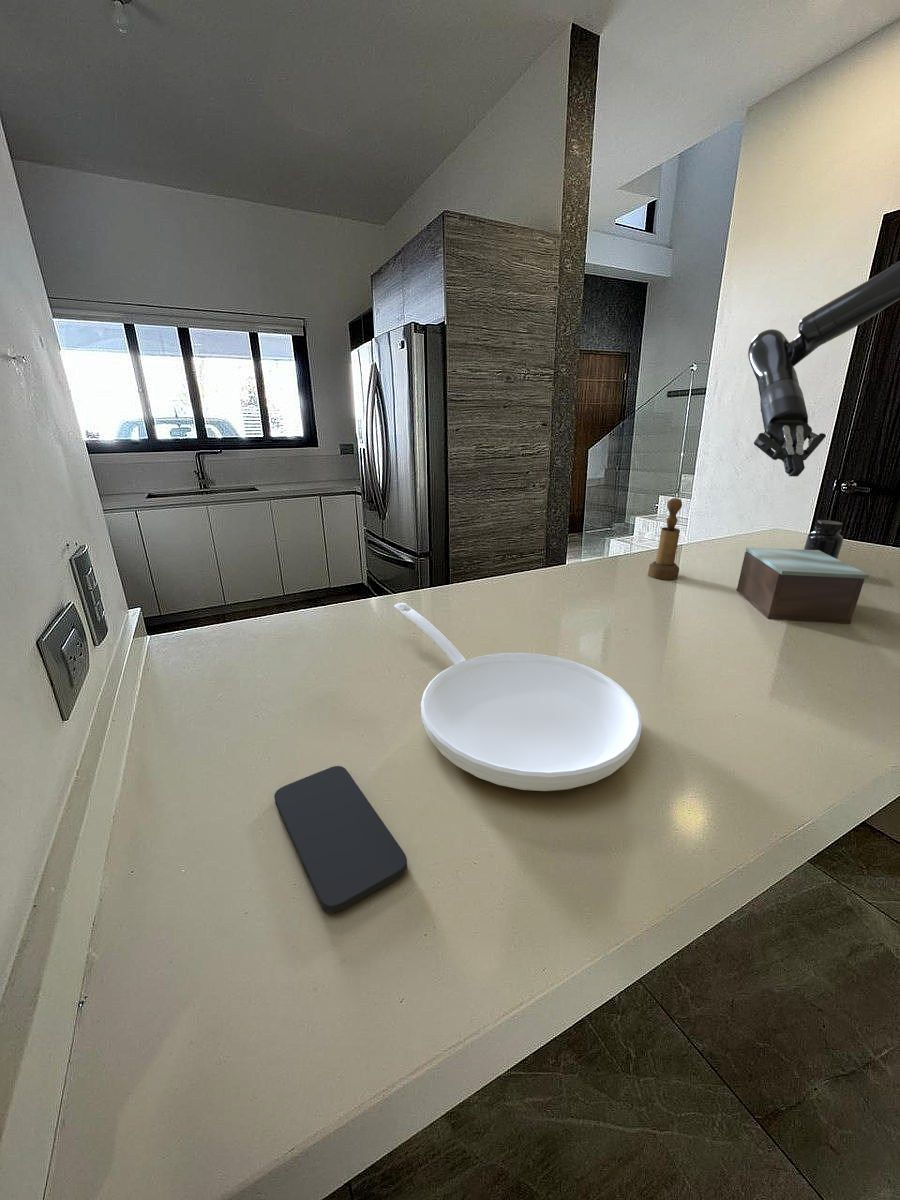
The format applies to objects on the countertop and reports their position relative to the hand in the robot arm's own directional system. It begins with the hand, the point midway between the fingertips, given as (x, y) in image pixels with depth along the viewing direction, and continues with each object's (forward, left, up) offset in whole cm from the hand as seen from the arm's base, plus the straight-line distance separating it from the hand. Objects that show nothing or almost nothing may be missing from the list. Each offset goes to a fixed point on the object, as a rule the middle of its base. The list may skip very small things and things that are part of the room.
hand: (796, 473), depth 95 cm
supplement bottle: (-17, -16, -25) cm, 34 cm away
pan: (+56, +52, -25) cm, 81 cm away
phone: (+66, +78, -24) cm, 105 cm away
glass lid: (0, +10, -16) cm, 18 cm away
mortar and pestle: (+20, -6, -24) cm, 32 cm away
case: (0, +10, -24) cm, 26 cm away
